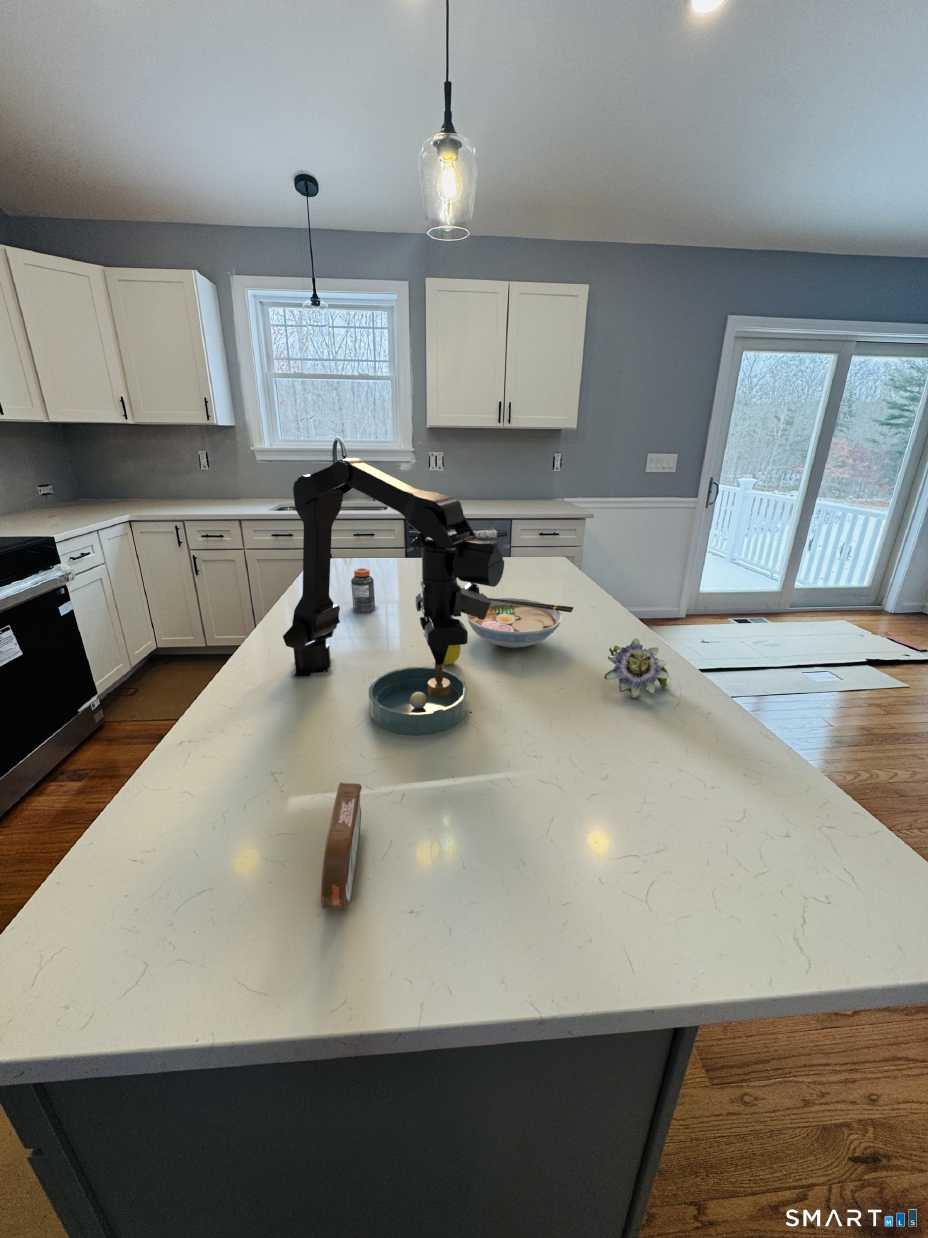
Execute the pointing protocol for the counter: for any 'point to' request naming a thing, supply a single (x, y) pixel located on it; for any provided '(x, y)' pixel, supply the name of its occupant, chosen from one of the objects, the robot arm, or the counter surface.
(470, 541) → the robot arm
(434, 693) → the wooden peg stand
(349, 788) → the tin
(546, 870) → the counter surface
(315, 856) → the counter surface
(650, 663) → the passion flower
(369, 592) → the pill bottle
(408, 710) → the bowl
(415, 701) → the dough ball
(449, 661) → the lemon
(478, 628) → the ramen bowl
